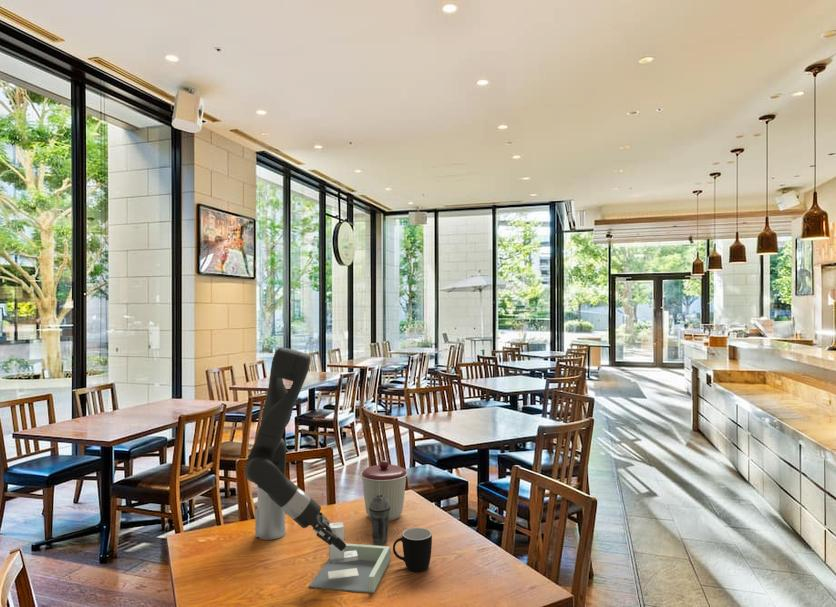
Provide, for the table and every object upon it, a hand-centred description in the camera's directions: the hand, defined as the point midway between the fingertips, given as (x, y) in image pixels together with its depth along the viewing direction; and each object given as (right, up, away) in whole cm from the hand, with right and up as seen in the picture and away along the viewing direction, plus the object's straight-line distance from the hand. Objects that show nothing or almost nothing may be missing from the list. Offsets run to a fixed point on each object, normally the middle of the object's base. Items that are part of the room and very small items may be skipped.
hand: (342, 544), depth 154 cm
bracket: (0, -4, 0) cm, 4 cm away
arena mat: (+2, -9, +1) cm, 9 cm away
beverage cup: (+9, -9, +22) cm, 25 cm away
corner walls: (+2, -9, +1) cm, 9 cm away
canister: (+9, -10, +44) cm, 46 cm away
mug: (+20, -9, +4) cm, 23 cm away
